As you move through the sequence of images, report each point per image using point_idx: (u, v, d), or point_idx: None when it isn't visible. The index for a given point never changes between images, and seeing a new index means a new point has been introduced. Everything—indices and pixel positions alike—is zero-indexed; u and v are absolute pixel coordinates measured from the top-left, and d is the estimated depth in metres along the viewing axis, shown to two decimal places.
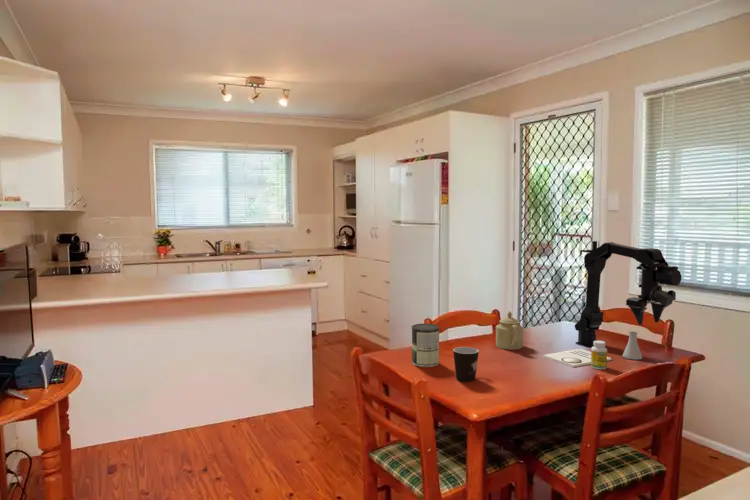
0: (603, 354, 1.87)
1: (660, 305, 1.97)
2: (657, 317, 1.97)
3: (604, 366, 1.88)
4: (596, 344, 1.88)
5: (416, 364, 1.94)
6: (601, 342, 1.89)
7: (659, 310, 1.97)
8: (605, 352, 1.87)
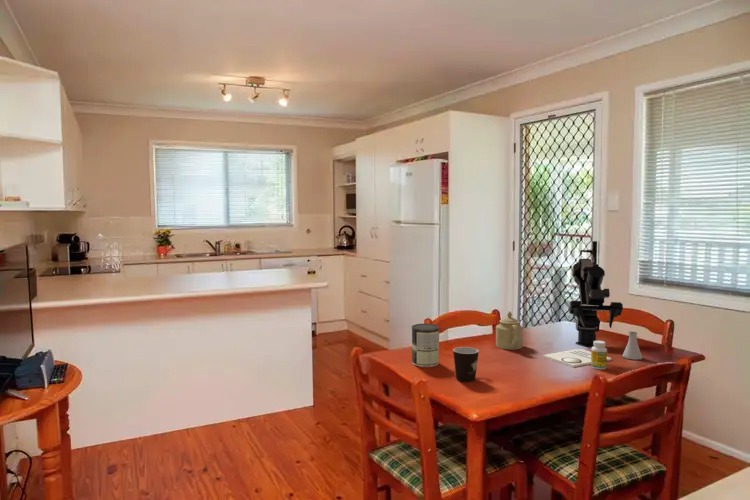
0: (603, 354, 1.87)
1: (610, 311, 1.99)
2: (609, 322, 1.97)
3: (604, 366, 1.88)
4: (596, 344, 1.88)
5: (416, 364, 1.94)
6: (601, 342, 1.89)
7: (610, 315, 1.98)
8: (605, 352, 1.87)
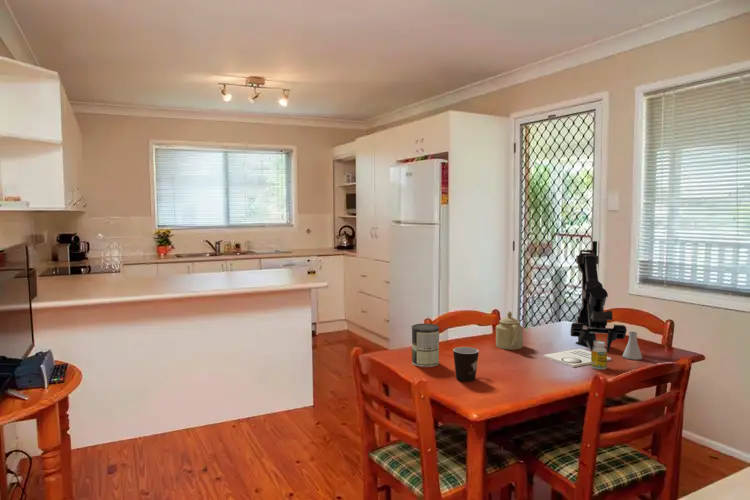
0: (603, 354, 1.87)
1: (608, 334, 1.91)
2: (607, 346, 1.89)
3: (604, 366, 1.88)
4: (596, 344, 1.88)
5: (416, 364, 1.94)
6: (601, 342, 1.89)
7: (608, 339, 1.90)
8: (605, 352, 1.87)
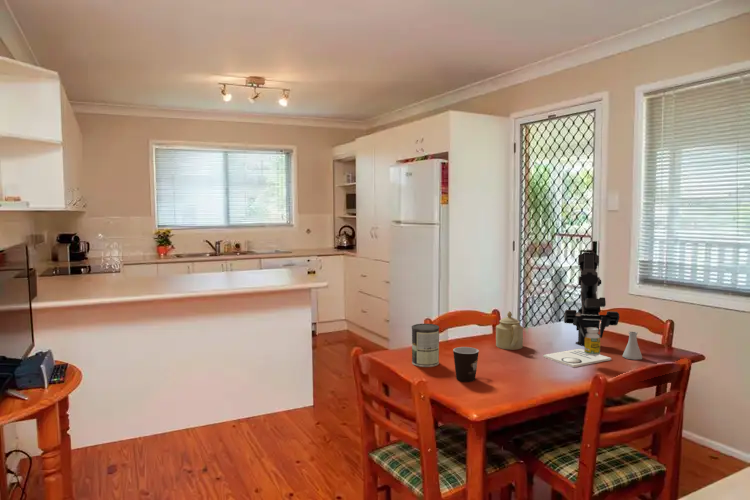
0: (597, 340, 1.89)
1: (601, 320, 1.92)
2: (600, 332, 1.90)
3: (597, 352, 1.89)
4: (589, 330, 1.90)
5: (416, 364, 1.94)
6: (594, 328, 1.90)
7: (601, 325, 1.91)
8: (598, 338, 1.89)
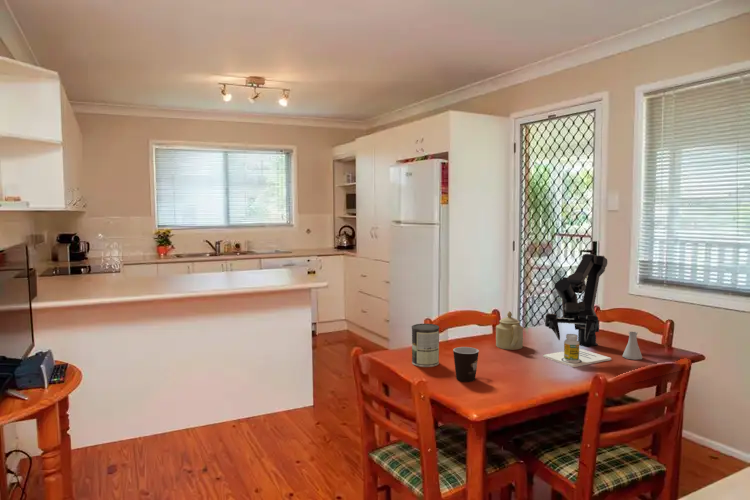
0: (575, 347, 1.93)
1: (586, 324, 1.96)
2: (585, 336, 1.94)
3: (576, 358, 1.94)
4: (568, 337, 1.95)
5: (416, 364, 1.94)
6: (573, 335, 1.95)
7: (585, 329, 1.95)
8: (577, 345, 1.94)
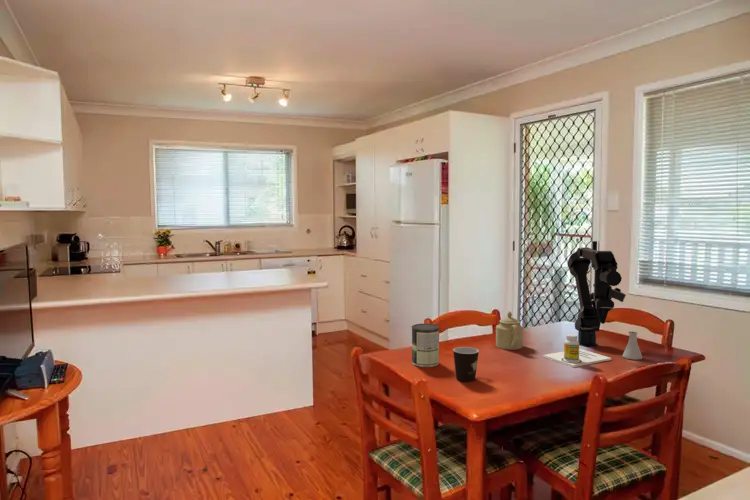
0: (575, 347, 1.93)
1: None
2: None
3: (576, 358, 1.94)
4: (568, 337, 1.95)
5: (416, 364, 1.94)
6: (573, 335, 1.95)
7: None
8: (577, 345, 1.94)
